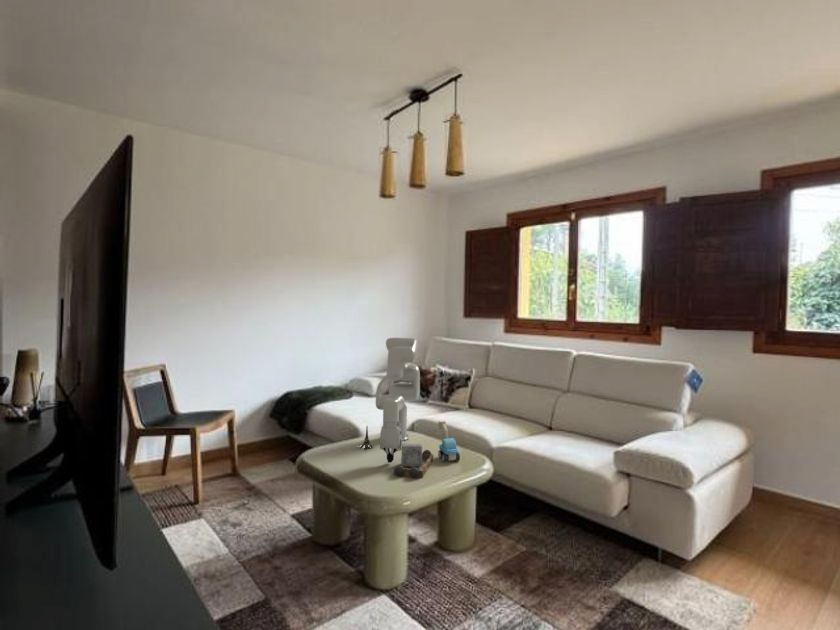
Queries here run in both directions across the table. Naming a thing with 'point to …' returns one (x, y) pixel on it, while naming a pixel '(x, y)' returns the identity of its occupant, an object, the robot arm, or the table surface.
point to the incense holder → (411, 455)
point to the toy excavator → (447, 446)
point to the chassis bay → (415, 471)
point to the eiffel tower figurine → (366, 441)
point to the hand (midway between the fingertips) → (390, 461)
